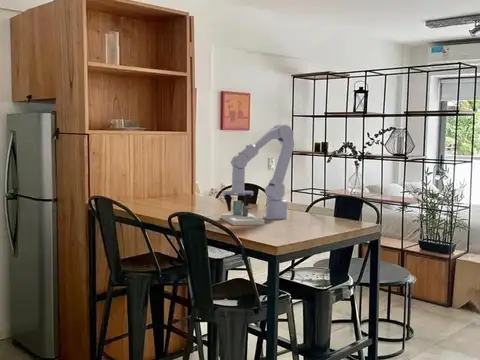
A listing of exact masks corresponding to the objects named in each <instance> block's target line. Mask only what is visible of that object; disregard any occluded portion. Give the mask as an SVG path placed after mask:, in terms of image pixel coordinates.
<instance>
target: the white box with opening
mask: <svg viewBox="0 0 480 360" xmlns="http://www.w3.org/2000/svg"><path fill="white" fill-rule="evenodd" d="M249 210H253V207H252V206H249V205H248V206H244V205H242V215H233V212H232V213H220V219H221V220H223V221H225V222H227V223H229V224H230V225H232V226H256V225H257V226H259V225H265V219H263V218H261V217H259V216H256V215H254V214H252V213H250V212H249Z"/></svg>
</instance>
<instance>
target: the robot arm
mask: <svg viewBox="0 0 480 360" xmlns="http://www.w3.org/2000/svg"><path fill="white" fill-rule="evenodd" d="M273 140H277V141H279V143H280V145H281V150H280V153H279V156H278V159H277V163H276V166H275V169H274V172H273V175H272V178H271V179H270V180H269V182H268V185H267V186H266V187H265V188H264V189H265V190H264V193H265V194H264V195H266V201H265V202H266V207H265V215H262V217H263V218H264V219H267V220H287V219H288V217H287V216H288V202H287V200H286V199H283V198H284V195H285V182H284V181H285V177H286V175H287V171H288V167H289V164H290V161H291V157H292V154H293V151H294V147H295V140H294V130H293V129H292V127H291V126H290V125H288V124H275V125H274V126H273V127H271V128H270V129H269V130H268V131H267V132H266V133H265V134H264V135H263V136H261V137H260V138H259V139H258V140H257V141H256V142H255V143H254V144H253V143H251V144H246V146H245V148H244V149H242V150H241V151H239V152H238V153H237V154H238V155H234V156H233V157H232V158H231V161H230V164H231V166H232V174H231V176H232V178H231V190H222V191H221V192H222V193H221V195H222V196H223V198H224V201H225V203H226V206H227V211H228V212H231V211H232V200H233V199H232V198H233V197H232V196H243V206H248V207H249V203H250V202H251V200H252V198H253V196H254V191H253V190H245V179H246V178H245V176H246V175H245V173H246V171H245V169H246V167H247V165H248V163H249V162H250V161H252V160H253V159H254V158H255V157H256V156H257V155H259V150H260V149H262V148H263V147H264V146H266V145H267V144H268V143H269V142H271V141H273Z"/></svg>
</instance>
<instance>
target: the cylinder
mask: <svg viewBox="0 0 480 360" xmlns="http://www.w3.org/2000/svg"><path fill="white" fill-rule="evenodd" d="M232 203H233V205H232V213H233V215H242V213H243V201H242V200H234V201H232Z"/></svg>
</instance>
